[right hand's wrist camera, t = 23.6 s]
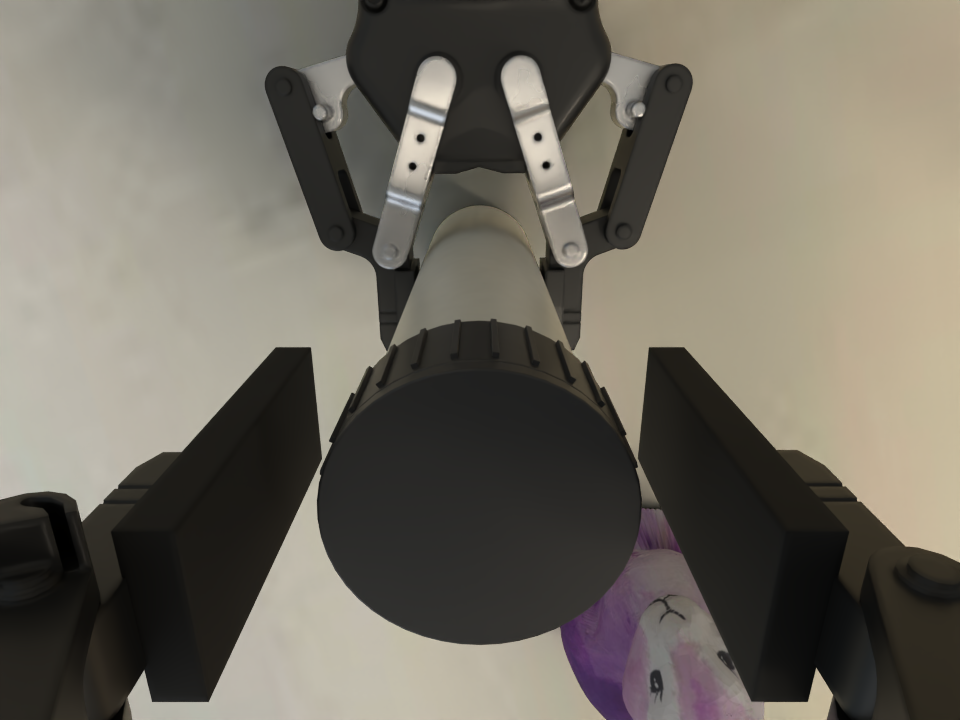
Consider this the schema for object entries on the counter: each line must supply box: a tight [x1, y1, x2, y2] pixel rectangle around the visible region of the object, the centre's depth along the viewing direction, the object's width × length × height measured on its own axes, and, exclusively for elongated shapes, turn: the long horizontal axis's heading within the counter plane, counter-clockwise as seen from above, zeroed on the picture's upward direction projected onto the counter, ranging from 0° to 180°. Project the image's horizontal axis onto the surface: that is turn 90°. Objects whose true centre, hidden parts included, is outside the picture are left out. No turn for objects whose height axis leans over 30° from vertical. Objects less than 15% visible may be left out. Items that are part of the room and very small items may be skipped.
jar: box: [386, 205, 573, 354], centre depth 20 cm, size 5×5×20 cm
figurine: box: [561, 508, 764, 720], centre depth 28 cm, size 9×10×15 cm
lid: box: [317, 319, 642, 645], centre depth 11 cm, size 5×5×2 cm
